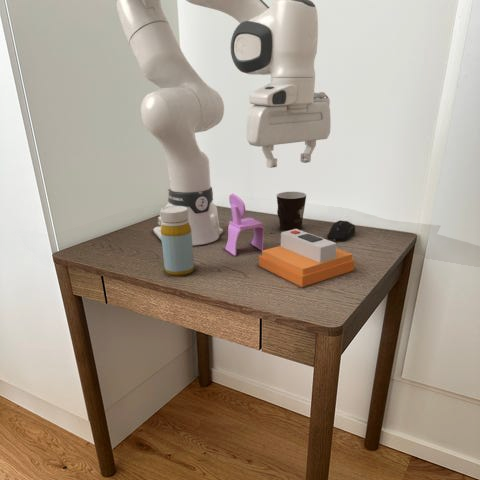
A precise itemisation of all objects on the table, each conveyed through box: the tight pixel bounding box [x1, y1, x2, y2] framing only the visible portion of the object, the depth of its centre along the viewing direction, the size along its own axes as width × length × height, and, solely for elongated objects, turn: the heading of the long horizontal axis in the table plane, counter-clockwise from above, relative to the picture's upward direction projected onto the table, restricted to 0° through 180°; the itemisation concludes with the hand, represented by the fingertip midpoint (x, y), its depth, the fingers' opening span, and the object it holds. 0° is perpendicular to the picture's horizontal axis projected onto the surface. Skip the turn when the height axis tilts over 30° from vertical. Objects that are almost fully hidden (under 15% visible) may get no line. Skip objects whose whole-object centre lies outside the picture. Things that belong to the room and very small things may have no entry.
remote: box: [280, 229, 338, 263], centre depth 107 cm, size 14×5×4 cm, turn 34°
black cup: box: [276, 191, 307, 232], centre depth 135 cm, size 12×9×10 cm
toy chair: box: [224, 193, 265, 257], centre depth 119 cm, size 8×9×15 cm
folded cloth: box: [258, 245, 356, 288], centre depth 109 cm, size 16×16×4 cm
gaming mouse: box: [327, 219, 356, 243], centre depth 129 cm, size 6×15×4 cm, turn 152°
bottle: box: [159, 206, 195, 277], centre depth 107 cm, size 7×7×15 cm
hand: (288, 164), depth 99 cm, fingers open, 8 cm apart
